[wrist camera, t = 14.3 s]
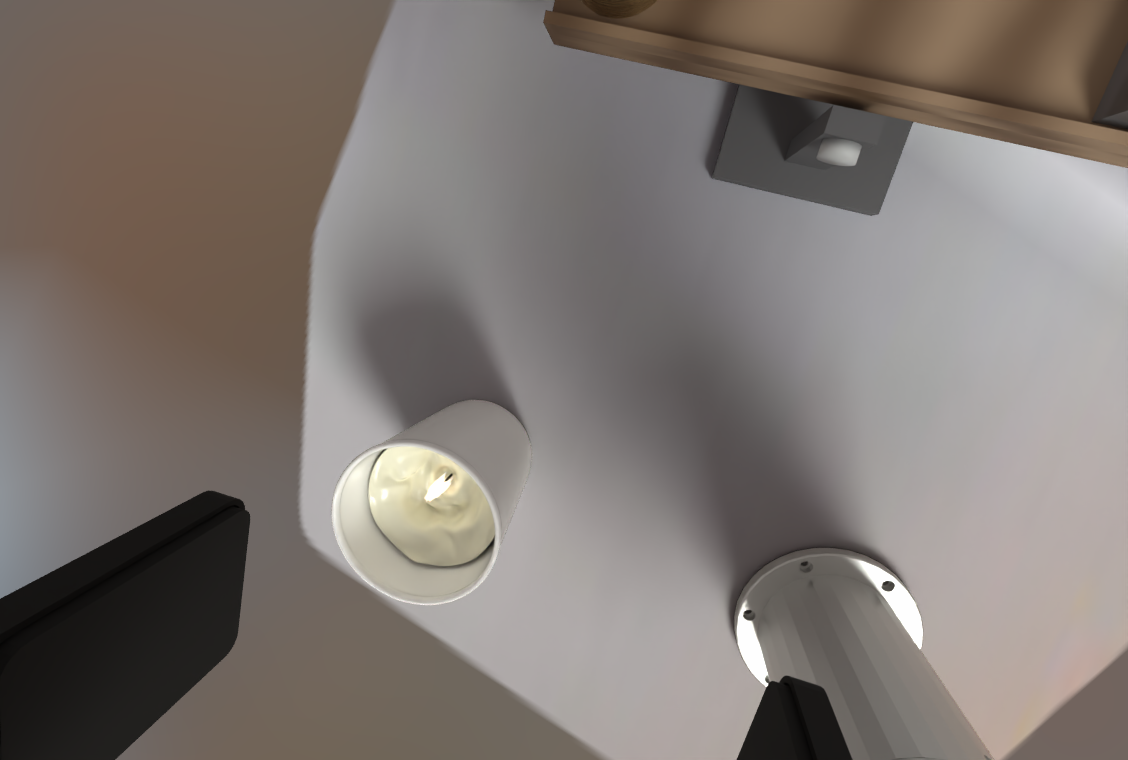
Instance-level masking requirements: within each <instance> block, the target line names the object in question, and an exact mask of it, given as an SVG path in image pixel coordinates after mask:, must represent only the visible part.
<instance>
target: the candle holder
mask: <svg viewBox="0 0 1128 760" xmlns="http://www.w3.org/2000/svg"><path fill="white" fill-rule="evenodd" d="M531 464H532V449H531V444H530V440H529V437H528V435H527V433H526V431H525V429H524V427H523V426H522V424H521V423H520V422H519V420H518V419H517V418H516V417H515V416H514V415H513V414H512V413H510V412H509V411H508V410H506V409H505V408H503V407H501V406H499V405H497V404H495V403H492V402H488V401H484V400H466V401H461V402H458V403H455V404H452V405H450V406H448V407H446V408H444V409H442V410H440V411H438V412H437V413H435V414H433V415H431V416H429V417H428V418H426V419H424V420H422V421H420V422H419V423H417V424H415V425H413V426H411V427H410V428H408V429H406V430H404V431H403V432H401V433H399V434H397V435H395V436H394V437H392V438H390V439H388V440H386V441H385V442H383V443H381V444H378V445H376V446H373V447H371V448H369V449H368V450H366V451H364V452H363V453H361V454H360V455H359V456H357V457H356V458H355V459H354V460H353V461H352V462H351V463H350V464H349V465H348V466H347V467H346V469H345V470H344V471H343V473H342V475H341V476H340V478H339V480H338V482H337V485H336V487H335V491H334V494H333V499H332V509H331V514H332V525H333V530H334V534H335V537H336V540H337V543H338V545H339V547H340V549H341V551H342V553H343V555H344V557H345V558H346V560H347V561H348V563H349V564H350V566H351V567H352V568H353V569H354V571H355V572H356V573H357V574H358V575H359V576H360V577H361V578H362V579H363V580H364V581H366V582H367V583H368V584H369V585H371V586H372V587H373V588H375V589H376V590H378V591H380V592H381V593H383V594H385V595H387V596H389V597H392V598H394V599H397V600H400V601H403V602H407V603H411V604H418V605H437V604H443V603H448V602H451V601H454V600H457V599H459V598H461V597H463V596H465V595H467V594H469V593H470V592H472V591H473V590H474V589H476V588H477V587H478V586H479V585H480V584H481V583H482V582H483V581H484V580H485V579H486V577H487V576H488V575H489V573H490V571H491V570H492V568H493V566H494V564H495V562H496V560H497V557H498V554H499V550H500V546H501V544H502V541H503V539H504V536H505V534H506V531H507V529H508V526H509V524H510V521H511V519H512V517H513V514H514V512H515V509H516V507H517V504H518V502H519V499H520V497H521V494H522V492H523V489H524V487H525V484H526V482H527V479H528V476H529V473H530V469H531Z"/></svg>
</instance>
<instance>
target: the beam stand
mask: <svg viewBox="0 0 1128 760" xmlns="http://www.w3.org/2000/svg"><path fill="white" fill-rule="evenodd" d="M912 123H913V122H912V121H907V120H903V119H898V118H893V117H889V116H884V115H880V114H875V113H870V112H866V111H861V110H856V109H852V108H847V107H842V106H838V105H833V104H828V103H824V102H819V101H815V100H810V99H805V98H801V97H796V96H791V95H787V94H782V93H777V92H773V91H768V90H764V89H759V88H754V87H750V86H745V85H740V84H739V87H738V90H737V94H736V97H735V100H734V104H733V107H732V111H731V114H730V117H729V121H728V124H727V128H726V131H725V134H724V138H723V141H722V145H721V148H720V151H719V155H718V158H717V162H716V165H715V168H714V172H713V175H712V178H713V179H717V180H721V181H726V182H730V183H734V184H738V185H743V186H747V187H751V188H755V189H760V190H764V191H768V192H772V193H777V194H781V195H785V196H789V197H794V198H798V199H802V200H806V201H811V202H815V203H819V204H823V205H828V206H832V207H836V208H841V209H845V210H849V211H853V212H858V213H862V214H866V215H870V216H872V215H877V214H879V212H880V209H881V206H882V204H883V201H884V198H885V196H886V193H887V190H888V188H889V185H890V182H891V180H892V177H893V174H894V172H895V169H896V166H897V164H898V161H899V158H900V156H901V153H902V150H903V148H904V145H905V142H906V140H907V137H908V134H909V132H910V129H911V126H912Z"/></svg>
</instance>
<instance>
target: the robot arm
mask: <svg viewBox="0 0 1128 760" xmlns="http://www.w3.org/2000/svg"><path fill="white" fill-rule="evenodd" d="M249 525H250V514H249V512H247V511H246V510H245V506H244V503H243V501H241V500H240V499H237V498H234V497H231V496H227V495H224V494H221V493H218V492H215V491H206V492H203V493H201V494H199V495H197V496H195V497H193V498H192V499H190V500H188V501H186V502H184V503H182V504H180V505H178V506H176V507H174V508H172V509H171V510H169V511H167V512H165V513H163V514H161V515H159V516H157V517H155V518H154V519H151V520H150V521H148V522H146V523H144V524H142V525H140V526H138V527H137V528H134V529H133V530H130V531H129V532H127V533H125V534H123V535H121V536H119V537H117V538H115V539H113V540H112V541H110V542H108V543H106V544H104V545H102V546H100V547H98V548H96V549H94V550H92V551H90V552H89V553H87V554H85V555H83V556H81V557H79V558H77V559H75V560H73V561H71V562H70V563H68V564H66V565H64V566H62V567H60V568H58V569H56V570H55V571H52V572H50V573H49V574H47V575H45V576H43V577H41V578H39V579H37V580H35V581H33V582H31V583H29V584H28V585H26V586H24V587H22V588H20V589H18V590H16V591H14V592H13V593H11V594H9V595H7V596H5V597H3V598H1V599H0V760H115V759H116V758H117V757H118V756H119V755H120V754H122V753H123V752H124V751H125V750H126V749H127V748H128V747H129V746H130V745H131V744H132V743H133V742H135V741H136V740H137V739H138V738H139V737H140V736H141V735H142V734H143V733H144V732H145V731H146V730H147V729H148V728H150V727H151V726H152V725H153V724H154V723H155V722H156V721H157V720H158V719H159V718H160V717H161V716H162V715H163V714H164V713H166V712H167V711H168V710H169V709H170V708H171V707H172V706H173V705H174V704H175V703H176V702H177V701H178V700H179V699H180V698H182V697H183V696H184V695H185V694H186V693H187V692H188V691H189V690H190V689H191V688H192V687H193V686H194V685H196V683H198V682H199V681H200V680H201V679H202V678H203V677H204V676H205V675H206V674H207V673H208V672H209V671H211V670H212V669H213V668H214V667H215V666H216V665H217V664H218V663H219V662H220V661H221V660H222V659H223V658H224V657H225V656H226V655H227V654H228V653H229V652H230V650H231V649H232V647H233V645H234V643H235V641H236V638H237V634H238V627H239V618H240V609H241V599H242V590H243V581H244V571H245V561H246V553H247V544H248V535H249ZM804 561H806V562H804ZM802 562H804V563H802ZM734 631H735V636H736V641H737V645H738V648H739V651H740V654H741V657H742V659H743V661H744V662H745V664H746V666H747V667H748V669H749V671H750V672H751V673H752V674H753V675H754V676H755V677H756V678H757V680H758V681H759V682H760V683H762V684H763V685H764V686H766V687H767V688H766V690H765V692H764V695H763V697H762V700H761V702H760V705H759V707H758V709H757V712H756V714H755V717H754V719H753V721H752V724H751V726H750V729H749V731H748V734H747V736H746V738H745V741H744V743H743V746H742V748H741V751H740V753H739V755H738V758H737V760H994V758H993V757H992V755H991V754H990V752H989V751H988V749H987V748H986V746H985V745H984V743H983V742H982V740H981V739H980V738H979V736H978V735H977V733H976V732H975V730H974V729H973V727H972V726H971V724H970V723H969V721H968V720H967V718H966V717H965V715H964V714H963V712H962V711H961V709H960V708H959V706H958V705H957V703H956V702H955V700H954V699H953V697H952V696H951V694H950V693H949V691H948V690H947V688H946V687H945V686H944V684H943V683H942V681H941V680H940V678H939V677H938V675H937V674H936V672H935V671H934V669H933V668H932V666H931V665H930V663H929V662H928V660H927V659H926V657H925V656H924V654H923V653H922V651H921V647H922V642H923V624H922V618H921V614H920V611H919V609H918V606H917V604H916V601H915V600H914V598H913V597H912V595H911V594H910V592H909V591H908V589H907V588H906V587H905V585H904V584H903V583H902V582H901V581H900V580H899V578H898V577H897V576H896V575H895V574H894V573H893V572H891V571H890V570H889V569H888V568H886V567H885V566H884V565H882V564H881V563H879V562H877V561H875V560H873V559H871V558H869V557H868V556H865V555H862V554H859V553H856V552H853V551H850V550H843V549H836V548H811V549H806V550H800V551H795V552H793V553H790V554H787V555H784V556H782V557H779V558H777V559H776V560H774V561H772V562H771V563H769V564H767V565H765V566H764V567H763V568H762V569H761V570H760V571H758V572H757V573H756V574H755V575H754V576H753V577H752V578H751V579H750V581H749V582H748V583H747V585H746V586H745V587H744V589H743V591H742V593H741V595H740V597H739V599H738V601H737V606H736V610H735V614H734Z"/></svg>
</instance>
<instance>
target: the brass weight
mask: <svg viewBox="0 0 1128 760" xmlns="http://www.w3.org/2000/svg"><path fill="white" fill-rule="evenodd" d="M581 1H582V2H583V3H584V4H585V5H586V6H587V7H588V8H589V9H590V10H592V11H593V12H595V13H597V14H599V15H601V16H604V17H608V18H616V19H621V18H628V17H632V16H635V15H637V14H640V13H642V12H643V11H645V10H647V9H648V8H649V7H651V6H652V5H653V4H654V3H655V2H656V1H657V0H581Z"/></svg>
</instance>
